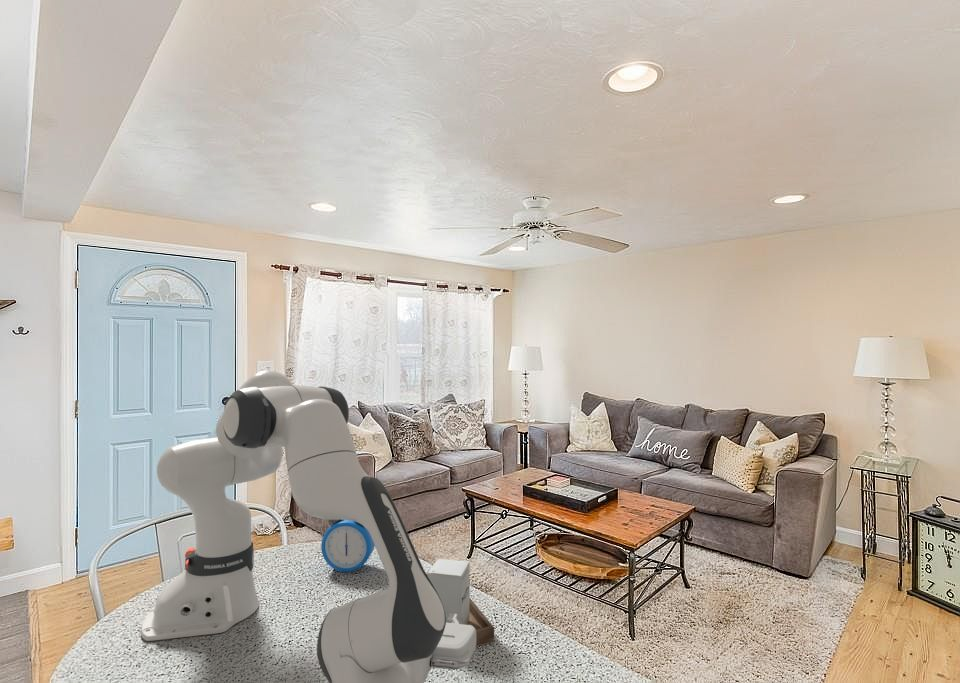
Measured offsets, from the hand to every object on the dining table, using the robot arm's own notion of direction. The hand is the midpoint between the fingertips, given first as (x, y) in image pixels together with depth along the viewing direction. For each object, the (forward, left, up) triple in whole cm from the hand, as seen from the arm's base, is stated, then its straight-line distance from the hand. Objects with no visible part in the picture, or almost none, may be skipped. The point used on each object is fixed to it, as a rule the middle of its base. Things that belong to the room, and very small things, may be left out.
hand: (429, 614), depth 94 cm
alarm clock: (-7, +48, -10) cm, 49 cm away
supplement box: (+7, +9, -9) cm, 15 cm away
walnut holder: (+7, +10, -10) cm, 15 cm away
